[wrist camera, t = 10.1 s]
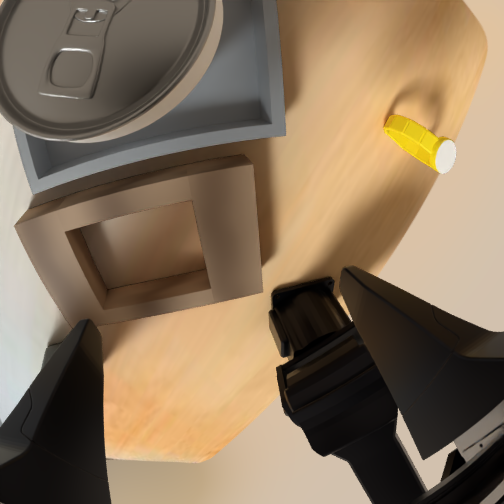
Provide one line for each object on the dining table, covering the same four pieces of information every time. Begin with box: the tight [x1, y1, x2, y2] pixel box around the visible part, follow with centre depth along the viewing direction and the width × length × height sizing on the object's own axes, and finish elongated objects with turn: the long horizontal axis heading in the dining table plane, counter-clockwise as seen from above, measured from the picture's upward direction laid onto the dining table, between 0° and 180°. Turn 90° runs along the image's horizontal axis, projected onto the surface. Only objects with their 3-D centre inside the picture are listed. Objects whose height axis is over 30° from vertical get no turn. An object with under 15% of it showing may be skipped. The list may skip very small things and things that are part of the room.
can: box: [0, 0, 223, 143], centre depth 8 cm, size 6×6×12 cm
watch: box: [383, 115, 456, 174], centre depth 18 cm, size 6×3×6 cm, turn 62°
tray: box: [13, 0, 286, 195], centre depth 12 cm, size 16×12×3 cm
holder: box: [14, 154, 263, 329], centre depth 19 cm, size 17×11×2 cm, turn 94°
